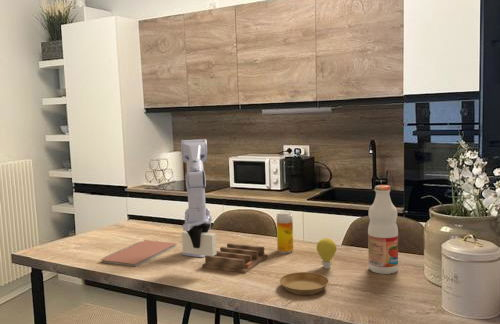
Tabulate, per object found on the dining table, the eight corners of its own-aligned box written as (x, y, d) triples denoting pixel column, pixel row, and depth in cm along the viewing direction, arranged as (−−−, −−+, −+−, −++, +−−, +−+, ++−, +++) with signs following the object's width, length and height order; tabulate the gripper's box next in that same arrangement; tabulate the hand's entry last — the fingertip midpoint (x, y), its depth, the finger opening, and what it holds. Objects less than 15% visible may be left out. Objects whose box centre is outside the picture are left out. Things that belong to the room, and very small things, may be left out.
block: (182, 252, 157) (181, 232, 156) (187, 250, 159) (186, 230, 158) (212, 256, 151) (211, 235, 151) (216, 254, 154) (215, 233, 153)
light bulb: (338, 264, 158) (337, 236, 157) (335, 271, 152) (334, 241, 151) (318, 263, 160) (318, 235, 159) (315, 269, 154) (314, 240, 153)
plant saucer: (288, 277, 148) (288, 269, 148) (333, 282, 143) (333, 274, 142) (273, 294, 135) (272, 286, 134) (322, 301, 129) (322, 292, 129)
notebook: (143, 243, 195) (143, 239, 195) (177, 247, 188) (176, 242, 188) (98, 263, 171) (98, 258, 170) (135, 268, 164) (134, 263, 163)
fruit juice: (369, 264, 157) (368, 183, 154) (398, 266, 154) (397, 183, 152) (367, 273, 148) (366, 188, 145) (398, 275, 146) (397, 188, 143)
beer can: (292, 253, 172) (291, 214, 170) (276, 253, 173) (275, 214, 172) (294, 249, 178) (293, 211, 176) (278, 248, 179) (277, 211, 177)
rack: (202, 267, 161) (201, 256, 160) (227, 252, 177) (226, 242, 176) (245, 273, 153) (245, 261, 153) (267, 257, 169) (267, 246, 169)
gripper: (195, 212, 145) (197, 253, 147) (218, 203, 158) (220, 241, 160) (176, 210, 148) (179, 251, 150) (201, 202, 161) (203, 240, 163)
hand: (199, 246), depth 155 cm, fingers closed on block, 2 cm apart
